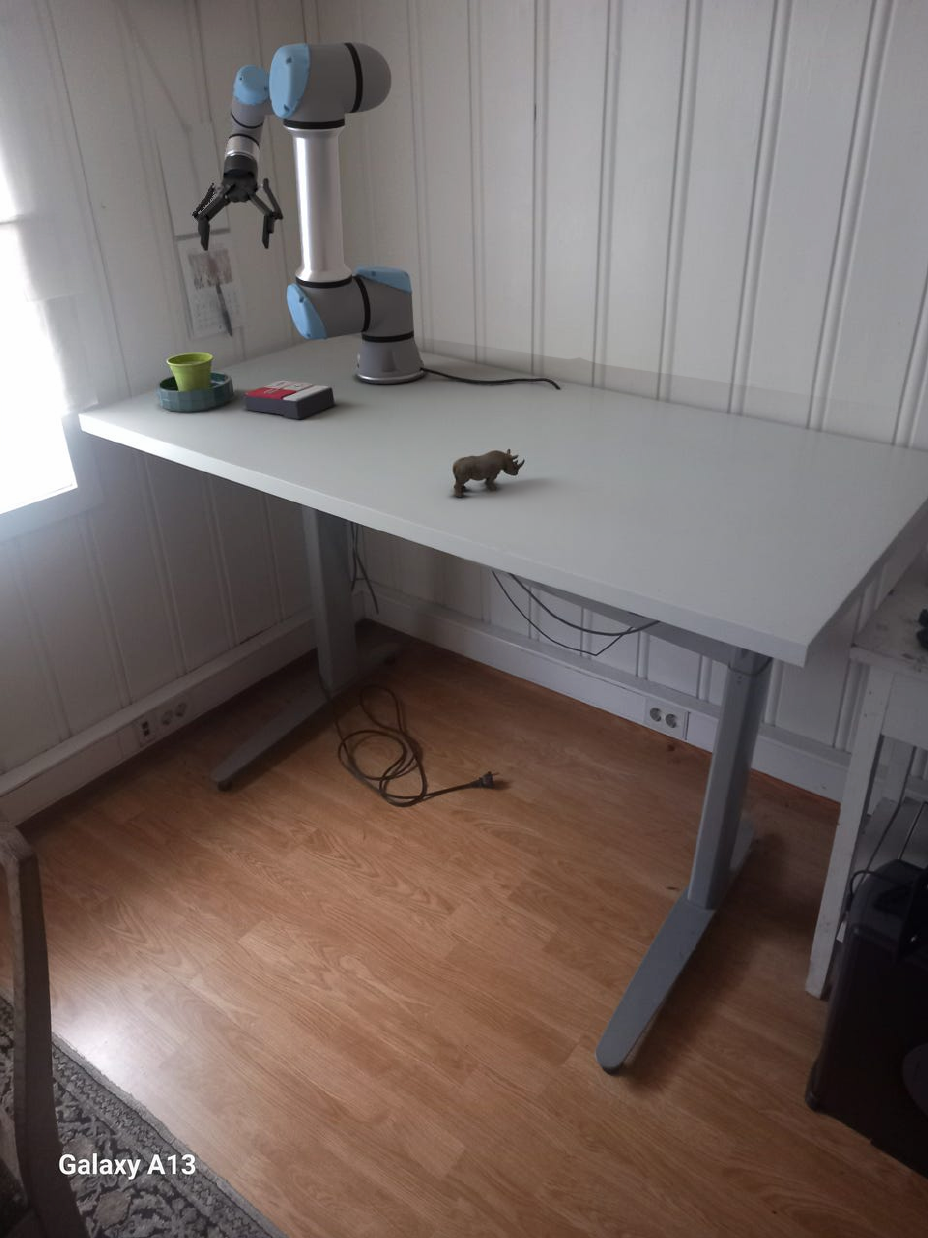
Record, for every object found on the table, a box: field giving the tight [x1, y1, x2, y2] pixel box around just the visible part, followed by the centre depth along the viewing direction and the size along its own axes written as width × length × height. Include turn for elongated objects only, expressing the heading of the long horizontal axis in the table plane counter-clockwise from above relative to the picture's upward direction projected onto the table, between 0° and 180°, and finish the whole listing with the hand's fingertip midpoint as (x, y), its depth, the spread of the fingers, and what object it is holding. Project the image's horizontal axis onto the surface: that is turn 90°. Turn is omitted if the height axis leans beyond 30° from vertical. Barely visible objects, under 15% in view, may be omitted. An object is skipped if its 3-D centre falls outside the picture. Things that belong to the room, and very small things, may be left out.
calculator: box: [243, 380, 336, 420], centre depth 198 cm, size 11×4×15 cm
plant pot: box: [166, 352, 214, 391], centre depth 203 cm, size 9×9×9 cm
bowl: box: [155, 370, 235, 413], centre depth 204 cm, size 15×15×4 cm
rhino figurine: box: [452, 448, 526, 498], centre depth 155 cm, size 4×14×6 cm, turn 118°
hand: (234, 245), depth 211 cm, fingers open, 13 cm apart
